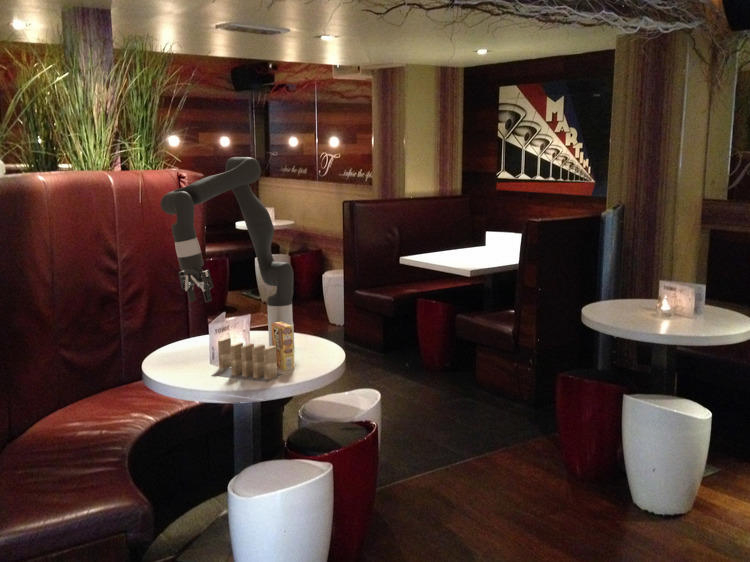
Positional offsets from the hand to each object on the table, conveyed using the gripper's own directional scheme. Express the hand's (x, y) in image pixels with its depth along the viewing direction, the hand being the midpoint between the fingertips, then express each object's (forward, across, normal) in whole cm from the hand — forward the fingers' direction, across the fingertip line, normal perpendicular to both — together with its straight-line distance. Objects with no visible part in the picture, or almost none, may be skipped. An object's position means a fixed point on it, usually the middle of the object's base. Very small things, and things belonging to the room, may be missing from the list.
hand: (200, 301), depth 234 cm
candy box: (+30, -11, -19) cm, 37 cm away
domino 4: (+27, -13, -6) cm, 31 cm away
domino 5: (+28, -18, -8) cm, 34 cm away
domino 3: (+27, -9, -5) cm, 29 cm away
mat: (+27, -9, -5) cm, 29 cm away
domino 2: (+26, -5, -4) cm, 27 cm away
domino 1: (+26, +5, -7) cm, 28 cm away
